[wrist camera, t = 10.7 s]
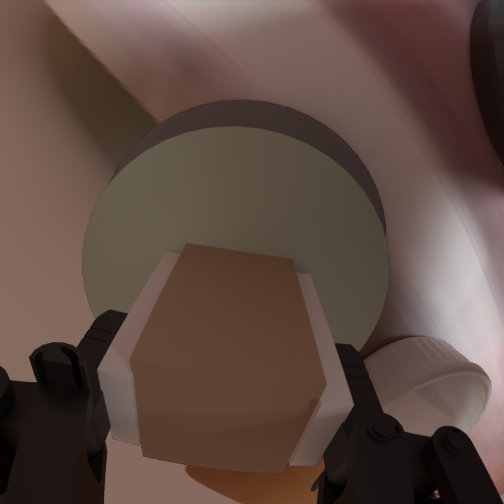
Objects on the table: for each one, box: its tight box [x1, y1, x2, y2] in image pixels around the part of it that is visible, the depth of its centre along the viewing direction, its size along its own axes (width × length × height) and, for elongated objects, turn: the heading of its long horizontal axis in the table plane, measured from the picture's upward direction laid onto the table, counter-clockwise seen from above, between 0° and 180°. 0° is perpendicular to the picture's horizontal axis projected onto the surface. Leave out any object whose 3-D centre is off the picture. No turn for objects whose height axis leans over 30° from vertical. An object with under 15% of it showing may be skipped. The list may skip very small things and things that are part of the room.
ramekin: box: [363, 336, 491, 437], centre depth 18 cm, size 11×11×5 cm
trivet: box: [109, 100, 386, 237], centre depth 16 cm, size 15×15×1 cm
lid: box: [82, 126, 390, 474], centre depth 10 cm, size 13×13×7 cm
